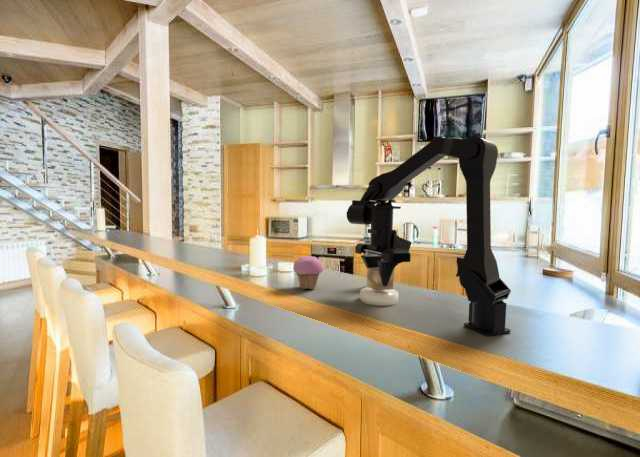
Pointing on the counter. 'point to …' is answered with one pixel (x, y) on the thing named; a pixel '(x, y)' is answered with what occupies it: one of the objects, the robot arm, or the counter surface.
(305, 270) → the cupcake
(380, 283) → the beech cube
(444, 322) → the counter surface
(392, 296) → the ceramic stand
